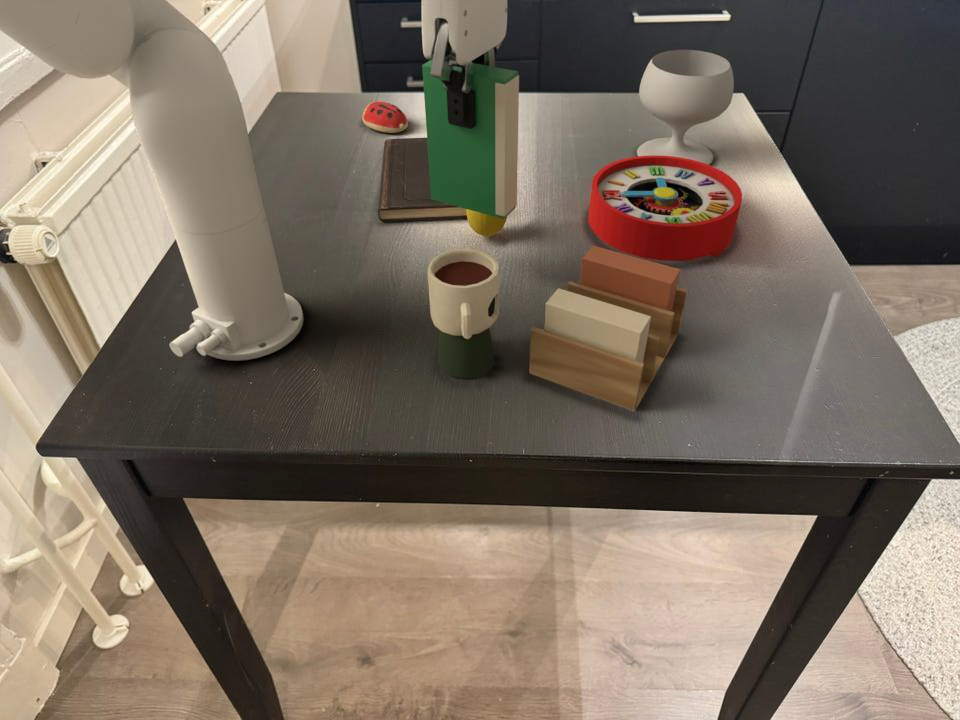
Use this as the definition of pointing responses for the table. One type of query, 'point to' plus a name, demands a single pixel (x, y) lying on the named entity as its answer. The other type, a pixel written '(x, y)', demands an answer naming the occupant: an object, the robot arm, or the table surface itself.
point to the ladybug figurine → (384, 117)
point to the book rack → (607, 353)
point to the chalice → (685, 98)
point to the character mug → (464, 310)
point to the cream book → (597, 324)
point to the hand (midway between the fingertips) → (470, 117)
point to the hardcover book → (410, 185)
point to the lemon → (485, 223)
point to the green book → (475, 143)
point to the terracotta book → (630, 277)
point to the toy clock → (664, 207)
